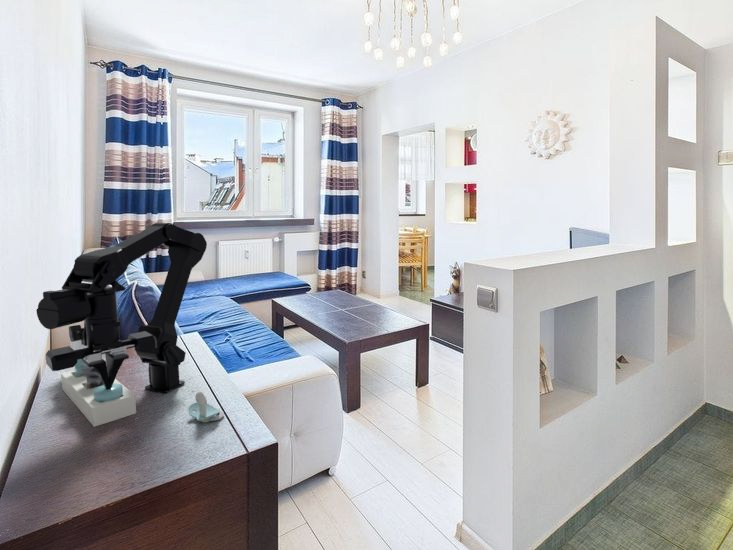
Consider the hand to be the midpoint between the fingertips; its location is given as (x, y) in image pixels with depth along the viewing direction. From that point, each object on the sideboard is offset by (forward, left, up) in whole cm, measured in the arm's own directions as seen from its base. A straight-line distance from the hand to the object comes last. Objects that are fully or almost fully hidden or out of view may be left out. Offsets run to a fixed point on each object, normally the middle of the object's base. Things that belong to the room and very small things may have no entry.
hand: (108, 388), depth 88 cm
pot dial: (+8, -3, -2) cm, 9 cm away
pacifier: (-20, -7, -6) cm, 22 cm away
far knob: (+17, -6, -2) cm, 18 cm away
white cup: (+28, -15, -6) cm, 32 cm away
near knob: (0, 0, -5) cm, 5 cm away
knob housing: (+8, -3, -6) cm, 11 cm away
